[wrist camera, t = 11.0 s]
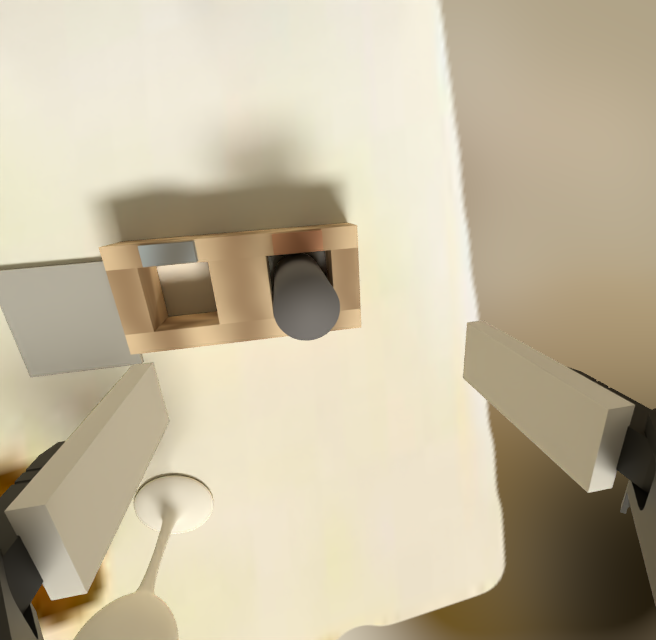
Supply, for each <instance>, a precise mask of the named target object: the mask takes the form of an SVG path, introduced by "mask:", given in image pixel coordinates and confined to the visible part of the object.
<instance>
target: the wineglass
mask: <svg viewBox="0 0 656 640" xmlns="http://www.w3.org/2000/svg"><path fill="white" fill-rule="evenodd" d="M213 507H214V502H213V497H212V495H211V493H210V491H209V490H208V489H207V488H206V487H205V486H204V485H203V484H202V483H200V482H199V481H197V480H195V479H192V478H189V477H185V476H177V475H173V476H164V477H160V478H157V479H154V480H152V481H150V482H149V483H147V484H146V485H144V486H143V487H142V488H141V489H140V490H139V492H138V493H137V495H136V497H135V501H134V509H135V513H136V515H137V517H138V518H139V520H140V521H141V522H142V523H143V524H144V525H146V526H147V527H149V528H150V529H152V530H155V531H158V532H160V533H159V537H158V540H157V543H156V547H155V550H154V553H153V556H152V558H151V561H150V564H149V566H148V569H147V571H146V574H145V576H144V578H143V580H142V582H141V584H140V586H139V588H138V589H137V591H136V592H135V593H131V594H128V595H125V596H122V597H120V598H118V599H116V600H114V601H112V602H111V603H109V604H108V605H106V606H105V607H103V608H102V609H101V610H100V611H98V612H97V613H96V614H95V615H94V616H93V617H92V618H91V619H90V620H88V621H87V623H86V624H85V625H84V626H83V627H82V628H81V630H80V631H79V632H78V634H77V635H76V636H75V638H74V639H73V640H179V637H178V629H177V625H176V621H175V618H174V616H173V614H172V612H171V610H170V608H169V607H168V606H167V604H166V603H165V602H164V601H163V600H162V599H161V598H159V597H158V596H156V595H155V594H154V586H155V581H156V577H157V573H158V569H159V566H160V562H161V559H162V556H163V553H164V550H165V548H166V545H167V542H168V540H169V537H170V534H179V533H185V532H189V531H191V530H194V529H196V528H198V527H199V526H201V525H202V524H204V523H205V522H206V521H207V520H208V518H209V517H210V516H211V514H212V511H213Z"/></svg>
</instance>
